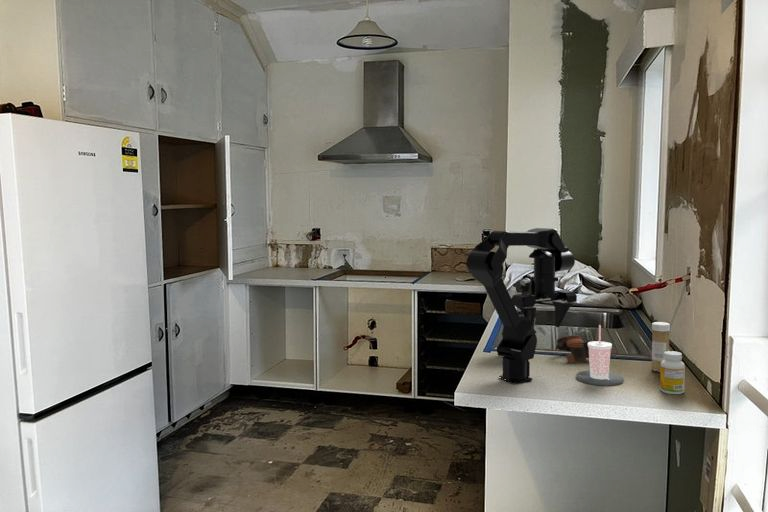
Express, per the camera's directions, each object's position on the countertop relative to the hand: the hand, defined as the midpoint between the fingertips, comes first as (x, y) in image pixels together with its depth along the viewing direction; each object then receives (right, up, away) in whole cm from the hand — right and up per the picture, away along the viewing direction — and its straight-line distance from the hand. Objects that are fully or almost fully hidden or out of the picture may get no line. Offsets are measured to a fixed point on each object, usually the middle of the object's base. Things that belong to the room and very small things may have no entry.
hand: (544, 328), depth 167 cm
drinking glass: (-3, -11, +18) cm, 21 cm away
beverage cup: (+13, -12, -8) cm, 19 cm away
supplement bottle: (+27, -13, -19) cm, 35 cm away
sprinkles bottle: (+32, -12, -1) cm, 34 cm away
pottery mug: (+13, -11, +13) cm, 21 cm away
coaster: (+13, -13, -7) cm, 19 cm away
